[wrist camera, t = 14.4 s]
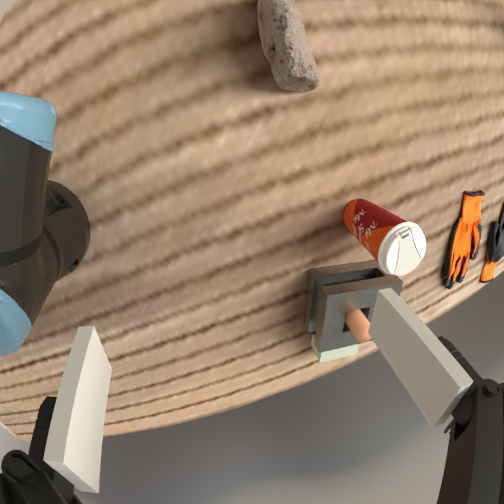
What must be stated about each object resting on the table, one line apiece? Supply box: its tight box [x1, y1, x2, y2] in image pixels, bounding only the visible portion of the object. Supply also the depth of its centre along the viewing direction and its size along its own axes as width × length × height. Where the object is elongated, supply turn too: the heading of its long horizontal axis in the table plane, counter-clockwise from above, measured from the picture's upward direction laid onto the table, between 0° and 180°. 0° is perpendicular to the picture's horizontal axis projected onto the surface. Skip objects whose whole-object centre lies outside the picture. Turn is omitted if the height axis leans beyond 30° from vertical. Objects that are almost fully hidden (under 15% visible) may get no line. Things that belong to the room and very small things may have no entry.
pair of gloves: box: [442, 191, 504, 289], centre depth 58 cm, size 27×24×3 cm
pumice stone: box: [257, 0, 320, 93], centre depth 30 cm, size 15×8×10 cm, turn 10°
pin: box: [345, 309, 371, 343], centre depth 50 cm, size 3×3×12 cm
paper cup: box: [343, 199, 426, 276], centre depth 43 cm, size 8×8×14 cm
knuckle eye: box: [311, 309, 361, 362], centre depth 55 cm, size 8×16×5 cm, turn 1°
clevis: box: [304, 260, 403, 353], centre depth 52 cm, size 14×12×8 cm
